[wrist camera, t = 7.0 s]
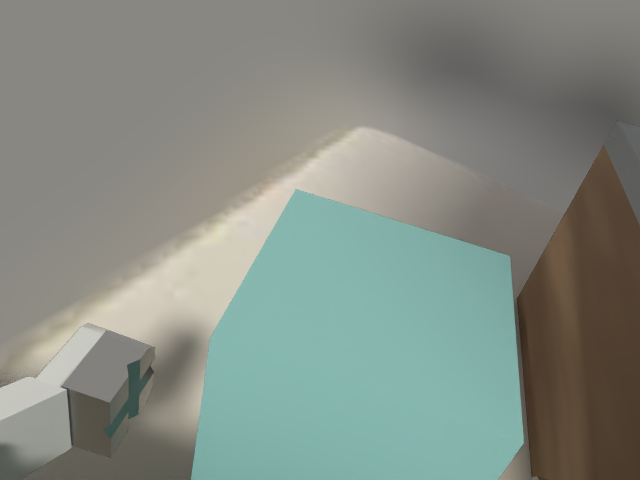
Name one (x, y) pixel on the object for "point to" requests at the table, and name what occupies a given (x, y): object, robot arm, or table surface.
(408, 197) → the table surface
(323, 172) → the table surface
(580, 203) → the drop box
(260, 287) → the block
